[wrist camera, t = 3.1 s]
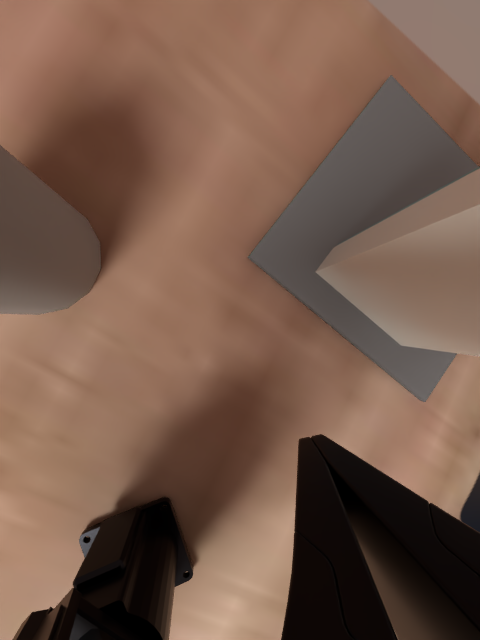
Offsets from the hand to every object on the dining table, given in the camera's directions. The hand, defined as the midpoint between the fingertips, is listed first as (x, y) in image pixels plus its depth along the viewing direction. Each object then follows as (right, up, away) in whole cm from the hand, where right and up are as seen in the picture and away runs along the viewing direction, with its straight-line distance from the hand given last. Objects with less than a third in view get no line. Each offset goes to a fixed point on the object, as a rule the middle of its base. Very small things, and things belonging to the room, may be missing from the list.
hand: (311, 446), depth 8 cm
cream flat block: (+8, +6, +12) cm, 16 cm away
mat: (+12, +11, +13) cm, 21 cm away
